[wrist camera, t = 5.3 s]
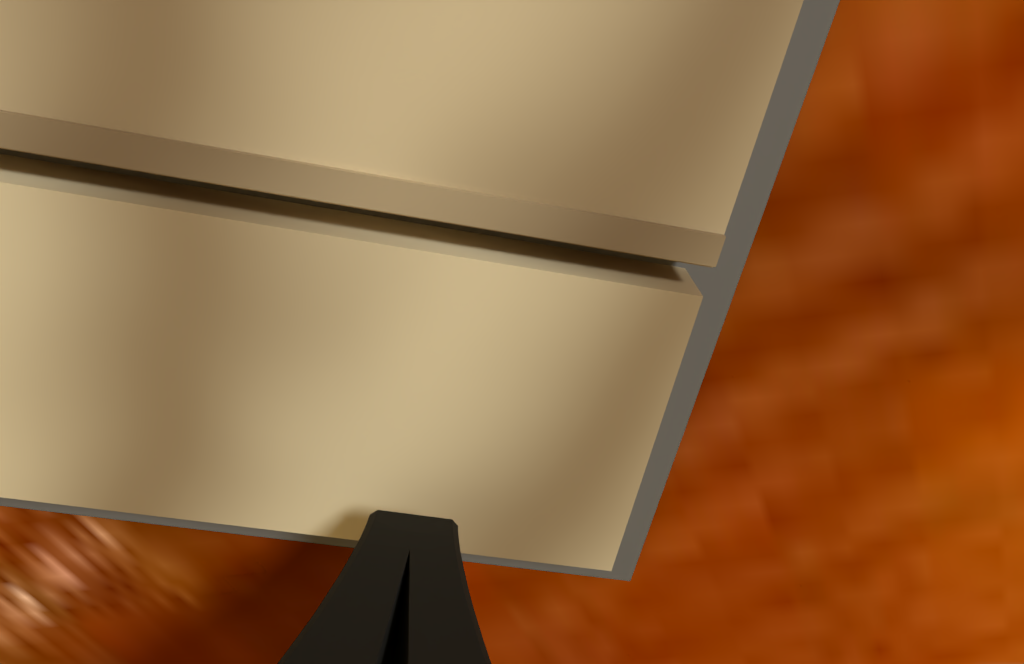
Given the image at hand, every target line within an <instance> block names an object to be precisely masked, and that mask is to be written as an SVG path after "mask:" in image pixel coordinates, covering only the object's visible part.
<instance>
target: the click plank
mask: <svg viewBox="0 0 1024 664" xmlns="http://www.w3.org/2000/svg"><path fill="white" fill-rule="evenodd" d="M702 299H703V296H702V294H701V292H700V291H699V289H698V288H697V286H696V285H695V283H694V281H693V280H692V278H691V277H690V275H689V273H688V272H687V270H686V269H685V268H681V267H675V266H669V265H663V264H657V263H651V262H645V261H639V260H633V259H627V258H621V257H615V256H609V255H603V254H597V253H591V252H585V251H579V250H573V249H567V248H561V247H555V246H549V245H543V244H537V243H531V242H525V241H519V240H513V239H507V238H501V237H495V236H489V235H483V234H477V233H471V232H465V231H459V230H453V229H447V228H441V227H435V226H429V225H423V224H417V223H411V222H405V221H399V220H393V219H387V218H381V217H375V216H369V215H363V214H357V213H351V212H345V211H339V210H333V209H327V208H321V207H315V206H309V205H303V204H297V203H291V202H285V201H279V200H273V199H267V198H261V197H255V196H249V195H243V194H237V193H231V192H225V191H219V190H213V189H207V188H202V187H196V186H190V185H184V184H178V183H172V182H166V181H160V180H154V179H148V178H142V177H136V176H130V175H124V174H118V173H112V172H106V171H100V170H94V169H88V168H82V167H76V166H70V165H64V164H58V163H52V162H46V161H40V160H34V159H28V158H22V157H16V156H10V155H4V154H0V497H2V498H10V499H19V500H27V501H35V502H43V503H52V504H60V505H68V506H77V507H85V508H93V509H101V510H110V511H118V512H126V513H134V514H143V515H151V516H159V517H168V518H176V519H184V520H192V521H201V522H209V523H217V524H225V525H234V526H242V527H250V528H258V529H267V530H275V531H283V532H292V533H300V534H308V535H316V536H325V537H333V538H341V539H349V540H358V541H359V539H360V537H361V535H362V533H363V530H364V528H365V526H366V524H367V521H368V518H369V515H370V514H371V513H373V512H375V511H377V510H383V511H391V512H399V513H407V514H414V515H422V516H430V517H438V518H446V519H453V521H454V522H455V523H456V524H457V525H458V536H459V544H460V551H461V553H465V554H473V555H482V556H490V557H498V558H507V559H515V560H523V561H531V562H540V563H548V564H556V565H564V566H573V567H581V568H589V569H597V570H606V571H612V568H613V565H614V562H615V559H616V556H617V553H618V550H619V547H620V544H621V541H622V538H623V535H624V532H625V529H626V526H627V523H628V520H629V517H630V514H631V511H632V508H633V505H634V502H635V499H636V496H637V493H638V490H639V487H640V484H641V481H642V478H643V475H644V472H645V469H646V466H647V463H648V460H649V457H650V454H651V451H652V448H653V445H654V442H655V439H656V436H657V433H658V430H659V427H660V424H661V421H662V418H663V415H664V412H665V409H666V406H667V403H668V400H669V397H670V394H671V391H672V388H673V385H674V382H675V379H676V376H677V373H678V370H679V367H680V364H681V361H682V358H683V355H684V352H685V349H686V346H687V343H688V340H689V337H690V334H691V332H692V329H693V326H694V323H695V320H696V317H697V314H698V311H699V308H700V305H701V302H702Z"/></svg>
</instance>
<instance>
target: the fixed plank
mask: <svg viewBox="0 0 1024 664" xmlns="http://www.w3.org/2000/svg"><path fill="white" fill-rule="evenodd" d="M803 1H804V0H0V148H1V149H7V150H13V151H19V152H25V153H31V154H37V155H43V156H49V157H55V158H61V159H67V160H73V161H79V162H85V163H91V164H97V165H102V166H108V167H114V168H120V169H126V170H132V171H138V172H144V173H150V174H156V175H162V176H168V177H174V178H180V179H186V180H192V181H198V182H204V183H210V184H216V185H222V186H228V187H234V188H240V189H246V190H252V191H258V192H264V193H270V194H276V195H282V196H288V197H294V198H300V199H305V200H311V201H317V202H323V203H329V204H335V205H341V206H347V207H353V208H359V209H365V210H371V211H377V212H383V213H389V214H395V215H401V216H407V217H413V218H419V219H425V220H431V221H437V222H443V223H449V224H455V225H461V226H467V227H473V228H479V229H485V230H491V231H497V232H503V233H508V234H514V235H520V236H526V237H532V238H538V239H544V240H550V241H556V242H562V243H568V244H574V245H580V246H586V247H592V248H598V249H604V250H610V251H616V252H622V253H628V254H634V255H640V256H646V257H652V258H658V259H664V260H670V261H676V262H682V263H688V264H694V265H700V266H706V267H711V268H713V267H716V265H717V262H718V259H719V256H720V253H721V250H722V247H723V244H724V241H725V239H726V236H725V235H724V234H725V231H726V228H727V225H728V222H729V219H730V216H731V213H732V210H733V207H734V204H735V201H736V198H737V195H738V192H739V189H740V187H741V184H742V181H743V178H744V175H745V172H746V169H747V166H748V163H749V160H750V157H751V154H752V151H753V148H754V145H755V142H756V139H757V136H758V133H759V131H760V128H761V125H762V122H763V119H764V116H765V113H766V110H767V107H768V104H769V101H770V98H771V95H772V92H773V89H774V86H775V83H776V80H777V78H778V75H779V72H780V69H781V66H782V63H783V60H784V57H785V54H786V51H787V48H788V45H789V42H790V39H791V36H792V33H793V30H794V27H795V24H796V22H797V19H798V16H799V13H800V10H801V7H802V4H803Z"/></svg>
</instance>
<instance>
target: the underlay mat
mask: <svg viewBox="0 0 1024 664" xmlns="http://www.w3.org/2000/svg"><path fill="white" fill-rule="evenodd" d="M839 1H840V0H804V1H803V4H802V7H801V10H800V13H799V16H798V19H797V22H796V24H795V27H794V30H793V33H792V36H791V39H790V42H789V45H788V48H787V51H786V54H785V57H784V60H783V63H782V66H781V69H780V72H779V75H778V78H777V80H776V83H775V86H774V89H773V92H772V95H771V98H770V101H769V104H768V107H767V110H766V113H765V116H764V119H763V122H762V125H761V128H760V131H759V133H758V136H757V139H756V142H755V145H754V148H753V151H752V154H751V157H750V160H749V163H748V166H747V169H746V172H745V175H744V178H743V181H742V184H741V187H740V189H739V192H738V195H737V198H736V201H735V204H734V207H733V210H732V213H731V216H730V219H729V222H728V225H727V228H726V231H725V234H724V235H725V236H726V239H725V241H724V244H723V247H722V250H721V253H720V256H719V259H718V262H717V265H716V267H713V268H711V267H706V266H700V265H694V264H688V263H682V262H676V261H670V260H664V259H658V258H652V257H646V256H640V255H634V254H628V253H622V252H616V251H610V250H604V249H598V248H592V247H586V246H580V245H574V244H568V243H562V242H556V241H550V240H544V239H538V238H532V237H526V236H520V235H514V234H508V233H503V232H497V231H491V230H485V229H479V228H473V227H467V226H461V225H455V224H449V223H443V222H437V221H431V220H425V219H419V218H413V217H407V216H401V215H395V214H389V213H383V212H377V211H371V210H365V209H359V208H353V207H347V206H341V205H335V204H329V203H323V202H317V201H311V200H305V199H300V198H294V197H288V196H282V195H276V194H270V193H264V192H258V191H252V190H246V189H240V188H234V187H228V186H222V185H216V184H210V183H204V182H198V181H192V180H186V179H180V178H174V177H168V176H162V175H156V174H150V173H144V172H138V171H132V170H126V169H120V168H114V167H108V166H102V165H97V164H91V163H85V162H79V161H73V160H67V159H61V158H55V157H49V156H43V155H37V154H31V153H25V152H19V151H13V150H7V149H1V148H0V154H4V155H10V156H16V157H22V158H28V159H34V160H40V161H46V162H52V163H58V164H64V165H70V166H76V167H82V168H88V169H94V170H100V171H106V172H112V173H118V174H124V175H130V176H136V177H142V178H148V179H154V180H160V181H166V182H172V183H178V184H184V185H190V186H196V187H202V188H207V189H213V190H219V191H225V192H231V193H237V194H243V195H249V196H255V197H261V198H267V199H273V200H279V201H285V202H291V203H297V204H303V205H309V206H315V207H321V208H327V209H333V210H339V211H345V212H351V213H357V214H363V215H369V216H375V217H381V218H387V219H393V220H399V221H405V222H411V223H417V224H423V225H429V226H435V227H441V228H447V229H453V230H459V231H465V232H471V233H477V234H483V235H489V236H495V237H501V238H507V239H513V240H519V241H525V242H531V243H537V244H543V245H549V246H555V247H561V248H567V249H573V250H579V251H585V252H591V253H597V254H603V255H609V256H615V257H621V258H627V259H633V260H639V261H645V262H651V263H657V264H663V265H669V266H675V267H681V268H685V269H686V270H687V272H688V273H689V275H690V277H691V278H692V280H693V281H694V283H695V285H696V286H697V288H698V289H699V291H700V292H701V294H702V296H703V299H702V302H701V305H700V308H699V311H698V314H697V317H696V320H695V323H694V326H693V329H692V332H691V334H690V337H689V340H688V343H687V346H686V349H685V352H684V355H683V358H682V361H681V364H680V367H679V370H678V373H677V376H676V379H675V382H674V385H673V388H672V391H671V394H670V397H669V400H668V403H667V406H666V409H665V412H664V415H663V418H662V421H661V424H660V427H659V430H658V433H657V436H656V439H655V442H654V445H653V448H652V451H651V454H650V457H649V460H648V463H647V466H646V469H645V472H644V475H643V478H642V481H641V484H640V487H639V490H638V493H637V496H636V499H635V502H634V505H633V508H632V511H631V514H630V517H629V520H628V523H627V526H626V529H625V532H624V535H623V538H622V541H621V544H620V547H619V550H618V553H617V556H616V559H615V562H614V565H613V568H612V571H606V570H597V569H589V568H581V567H573V566H564V565H556V564H548V563H540V562H531V561H523V560H515V559H507V558H498V557H490V556H482V555H473V554H465V553H461V557H462V561H467V562H476V563H484V564H492V565H501V566H509V567H517V568H526V569H534V570H543V571H551V572H559V573H568V574H576V575H584V576H593V577H601V578H609V579H618V580H626V581H630V580H631V577H632V575H633V572H634V569H635V566H636V564H637V561H638V558H639V555H640V553H641V550H642V547H643V544H644V541H645V539H646V536H647V533H648V530H649V528H650V525H651V522H652V519H653V517H654V514H655V511H656V508H657V505H658V503H659V500H660V497H661V494H662V492H663V489H664V486H665V483H666V480H667V478H668V475H669V472H670V469H671V467H672V464H673V461H674V458H675V456H676V453H677V450H678V447H679V444H680V442H681V439H682V436H683V433H684V431H685V428H686V425H687V422H688V420H689V417H690V414H691V411H692V408H693V406H694V403H695V400H696V397H697V395H698V392H699V389H700V386H701V384H702V381H703V378H704V375H705V372H706V370H707V367H708V364H709V361H710V359H711V356H712V353H713V350H714V348H715V345H716V342H717V339H718V336H719V334H720V331H721V328H722V325H723V323H724V320H725V317H726V314H727V312H728V309H729V306H730V303H731V300H732V298H733V295H734V292H735V289H736V287H737V284H738V281H739V278H740V276H741V273H742V270H743V267H744V264H745V262H746V259H747V256H748V253H749V251H750V248H751V245H752V242H753V240H754V237H755V234H756V231H757V228H758V226H759V223H760V220H761V217H762V215H763V212H764V209H765V206H766V204H767V201H768V198H769V195H770V192H771V190H772V187H773V184H774V181H775V179H776V176H777V173H778V170H779V168H780V165H781V162H782V159H783V156H784V154H785V151H786V148H787V145H788V143H789V140H790V137H791V134H792V131H793V129H794V126H795V123H796V120H797V118H798V115H799V112H800V109H801V107H802V104H803V101H804V98H805V95H806V93H807V90H808V87H809V84H810V82H811V79H812V76H813V73H814V71H815V68H816V65H817V62H818V59H819V57H820V54H821V51H822V48H823V46H824V43H825V40H826V37H827V35H828V32H829V29H830V26H831V23H832V21H833V18H834V15H835V12H836V10H837V7H838V4H839ZM0 506H8V507H17V508H25V509H34V510H42V511H50V512H59V513H67V514H75V515H84V516H92V517H100V518H109V519H117V520H125V521H134V522H142V523H150V524H159V525H167V526H175V527H184V528H192V529H200V530H209V531H217V532H225V533H234V534H242V535H250V536H259V537H267V538H275V539H284V540H292V541H301V542H309V543H317V544H326V545H334V546H342V547H351V548H355V547H356V545H357V543H358V540H349V539H341V538H333V537H325V536H316V535H308V534H300V533H292V532H283V531H275V530H267V529H258V528H250V527H242V526H234V525H225V524H217V523H209V522H201V521H192V520H184V519H176V518H168V517H159V516H151V515H143V514H134V513H126V512H118V511H110V510H101V509H93V508H85V507H77V506H68V505H60V504H52V503H43V502H35V501H27V500H19V499H10V498H2V497H0Z"/></svg>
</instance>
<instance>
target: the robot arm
mask: <svg viewBox="0 0 1024 664" xmlns="http://www.w3.org/2000/svg"><path fill="white" fill-rule="evenodd" d="M278 664H491V662H490V659H489V656H488V653H487V650H486V647H485V644H484V641H483V638H482V635H481V631H480V628H479V625H478V622H477V618H476V615H475V612H474V608H473V605H472V601H471V597H470V594H469V590H468V585H467V581H466V577H465V572H464V568H463V563H462V557H461V551H460V544H459V536H458V525H457V524H456V523H455V522H454V521H453V519H446V518H438V517H430V516H422V515H414V514H407V513H399V512H391V511H383V510H377V511H375V512H373V513H371V514H370V515H369V518H368V521H367V524H366V526H365V528H364V530H363V533H362V535H361V537H360V539H359V541H358V543H357V545H356V547H355V549H354V550H353V552H352V554H351V556H350V558H349V559H348V561H347V563H346V565H345V566H344V568H343V570H342V572H341V573H340V575H339V576H338V578H337V580H336V581H335V583H334V584H333V586H332V587H331V589H330V590H329V592H328V593H327V595H326V597H325V598H324V600H323V601H322V603H321V604H320V606H319V607H318V609H317V610H316V612H315V613H314V615H313V616H312V618H311V619H310V621H309V622H308V623H307V625H306V626H305V627H304V629H303V630H302V631H301V633H300V634H299V635H298V637H297V638H296V640H295V641H294V642H293V644H292V645H291V646H290V648H289V649H288V650H287V652H286V653H285V654H284V656H283V657H282V658H281V660H280V661H279V662H278Z"/></svg>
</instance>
